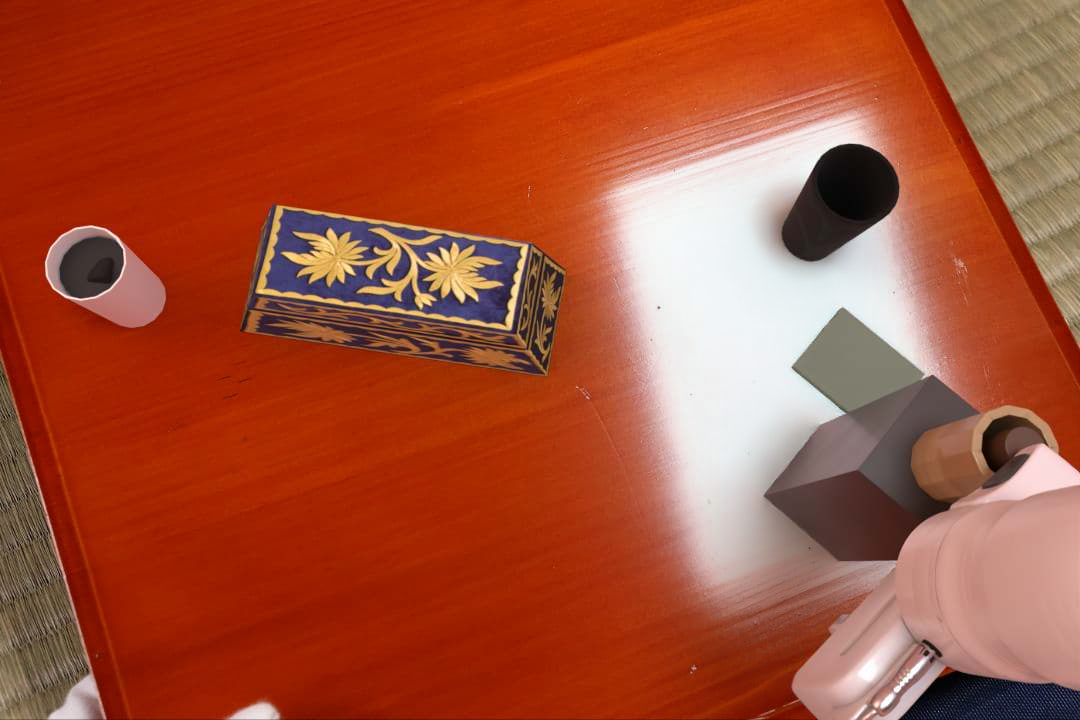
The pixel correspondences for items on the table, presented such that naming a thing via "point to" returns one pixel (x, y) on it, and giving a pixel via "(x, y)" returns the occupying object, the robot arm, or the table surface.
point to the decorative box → (404, 290)
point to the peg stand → (877, 472)
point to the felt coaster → (854, 364)
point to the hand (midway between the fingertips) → (878, 592)
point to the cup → (840, 201)
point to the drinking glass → (104, 277)
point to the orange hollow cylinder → (967, 451)
